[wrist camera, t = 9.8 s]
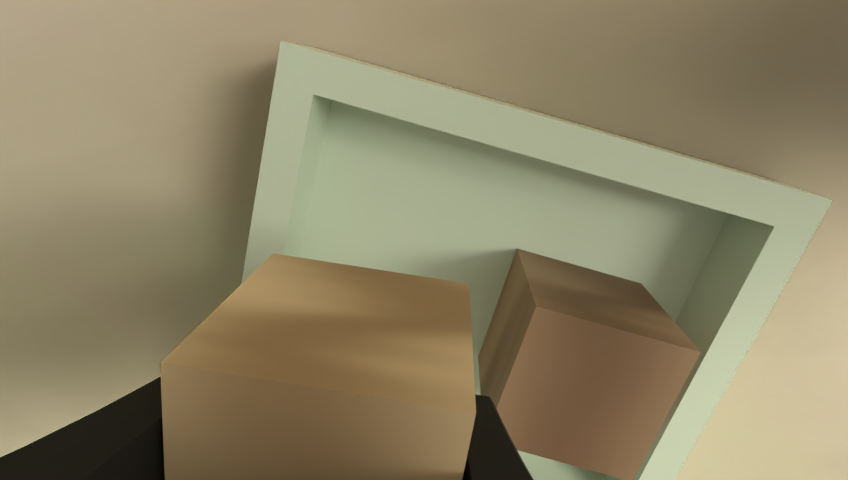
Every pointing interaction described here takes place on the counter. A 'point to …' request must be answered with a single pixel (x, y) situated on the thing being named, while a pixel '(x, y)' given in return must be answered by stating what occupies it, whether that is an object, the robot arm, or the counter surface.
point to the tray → (523, 213)
